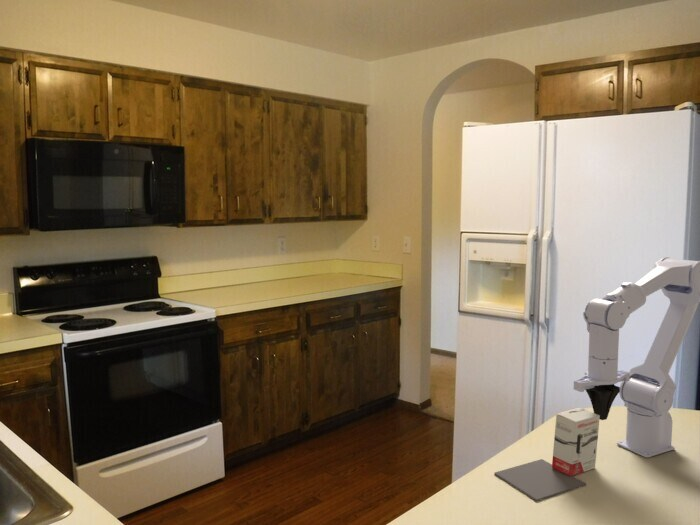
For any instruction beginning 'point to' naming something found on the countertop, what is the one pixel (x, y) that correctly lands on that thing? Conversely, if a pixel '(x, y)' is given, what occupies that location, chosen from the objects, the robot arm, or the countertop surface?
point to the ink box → (575, 441)
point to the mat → (539, 480)
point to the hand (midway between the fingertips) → (600, 418)
